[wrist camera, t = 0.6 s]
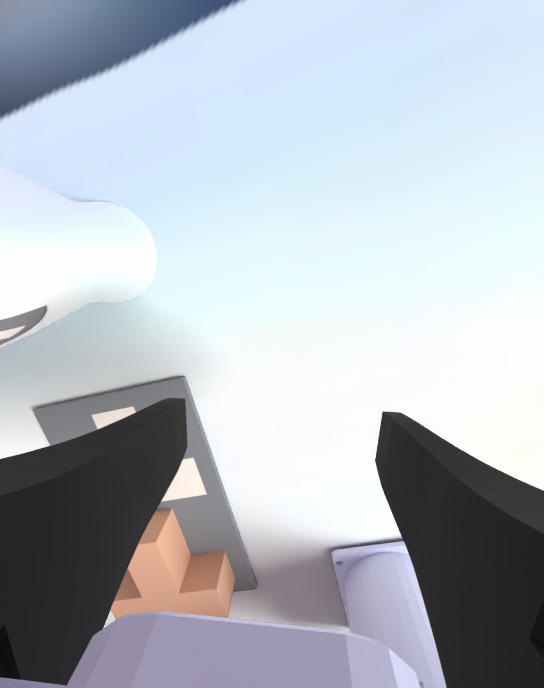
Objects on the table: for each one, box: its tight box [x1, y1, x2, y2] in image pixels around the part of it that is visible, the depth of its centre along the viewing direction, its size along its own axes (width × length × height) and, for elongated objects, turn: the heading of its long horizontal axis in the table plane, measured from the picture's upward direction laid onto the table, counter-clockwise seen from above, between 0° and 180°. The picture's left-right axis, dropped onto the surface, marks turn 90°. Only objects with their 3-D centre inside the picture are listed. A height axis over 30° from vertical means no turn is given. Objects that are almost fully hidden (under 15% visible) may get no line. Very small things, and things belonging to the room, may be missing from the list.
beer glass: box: [0, 164, 157, 348], centre depth 12 cm, size 7×7×15 cm
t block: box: [111, 508, 235, 619], centre depth 24 cm, size 8×9×3 cm
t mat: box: [33, 376, 257, 592], centre depth 25 cm, size 20×12×1 cm, turn 14°
